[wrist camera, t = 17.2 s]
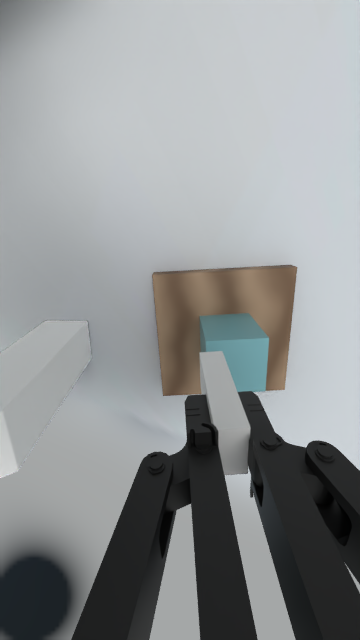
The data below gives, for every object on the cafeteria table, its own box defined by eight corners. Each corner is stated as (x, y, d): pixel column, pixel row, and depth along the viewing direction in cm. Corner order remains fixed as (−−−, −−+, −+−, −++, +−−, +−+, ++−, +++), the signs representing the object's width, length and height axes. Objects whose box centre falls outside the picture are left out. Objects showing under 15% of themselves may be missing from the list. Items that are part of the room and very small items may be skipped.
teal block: (200, 359, 36) (207, 394, 29) (199, 315, 34) (205, 341, 26) (247, 356, 36) (265, 391, 29) (248, 313, 34) (269, 337, 26)
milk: (52, 357, 38) (-99, 513, 18) (45, 319, 36) (-135, 445, 15) (93, 357, 38) (-9, 514, 18) (88, 319, 36) (-33, 446, 15)
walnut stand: (163, 387, 40) (160, 425, 33) (153, 272, 34) (147, 285, 26) (279, 382, 40) (303, 418, 32) (290, 264, 34) (322, 276, 26)
